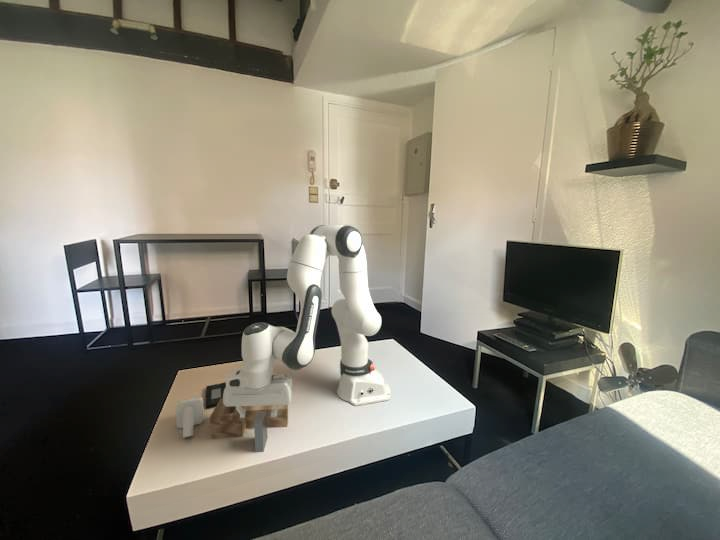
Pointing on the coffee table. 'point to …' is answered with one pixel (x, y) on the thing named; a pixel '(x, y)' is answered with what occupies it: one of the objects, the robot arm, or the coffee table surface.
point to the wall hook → (189, 414)
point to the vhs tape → (214, 394)
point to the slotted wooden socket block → (243, 419)
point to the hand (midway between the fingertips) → (258, 416)
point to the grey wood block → (260, 431)
